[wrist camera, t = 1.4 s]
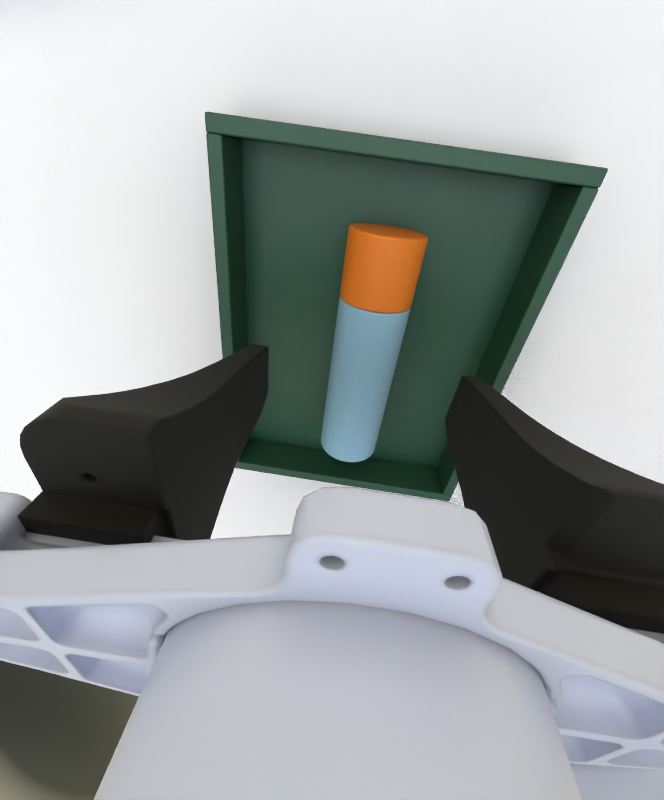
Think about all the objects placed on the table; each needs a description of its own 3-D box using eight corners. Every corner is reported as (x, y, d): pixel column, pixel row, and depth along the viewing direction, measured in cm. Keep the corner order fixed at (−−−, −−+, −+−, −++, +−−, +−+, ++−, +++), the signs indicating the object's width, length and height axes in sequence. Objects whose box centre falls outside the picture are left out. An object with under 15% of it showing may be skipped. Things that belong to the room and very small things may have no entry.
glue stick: (373, 429, 19) (376, 466, 16) (322, 423, 19) (318, 459, 16) (421, 229, 13) (436, 243, 11) (349, 219, 13) (348, 231, 11)
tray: (442, 472, 20) (449, 501, 18) (242, 440, 20) (230, 467, 19) (573, 168, 12) (609, 168, 10) (229, 119, 12) (203, 110, 10)
